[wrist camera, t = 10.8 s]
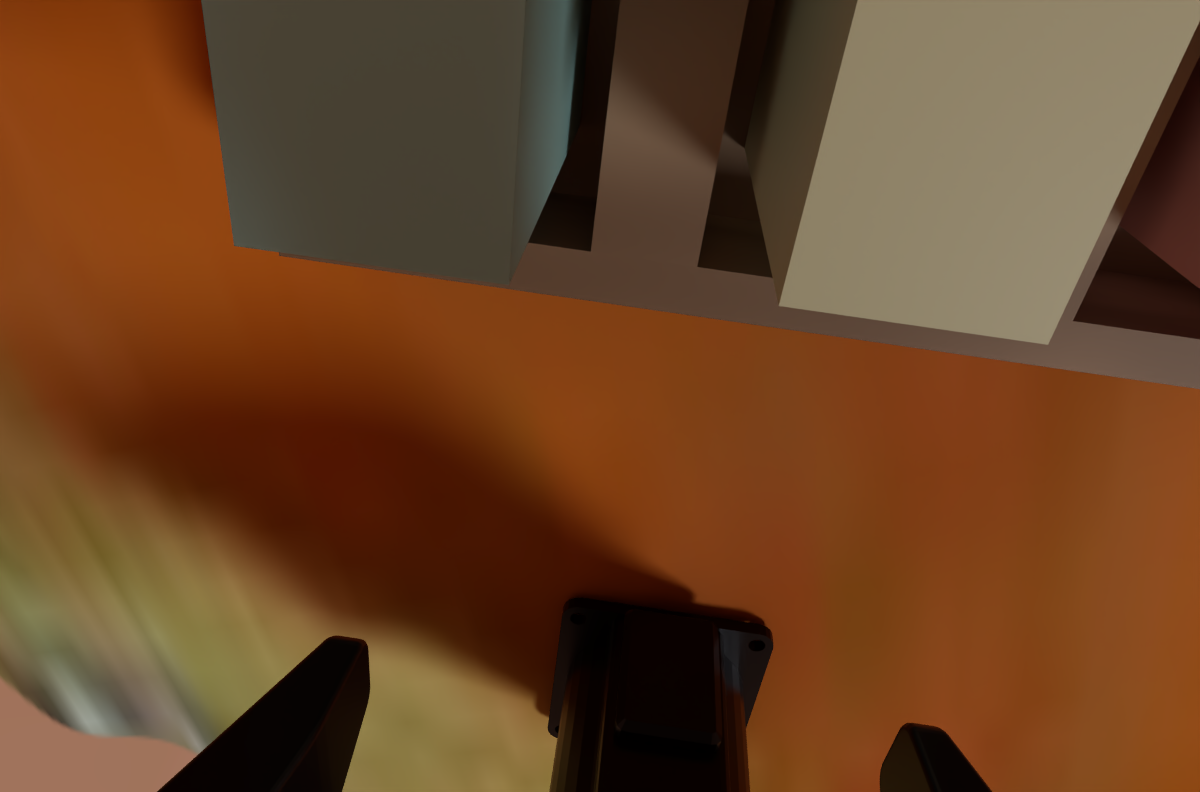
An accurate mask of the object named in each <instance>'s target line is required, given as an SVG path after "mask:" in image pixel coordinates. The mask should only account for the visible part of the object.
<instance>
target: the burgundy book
mask: <svg viewBox="0 0 1200 792" xmlns="http://www.w3.org/2000/svg"><path fill="white" fill-rule="evenodd" d="M1119 226H1121V227H1122V228H1123V229H1124V230H1126V231H1127V232H1128V233H1129V234H1131V235H1132V236H1133V237H1135V238H1136V239H1137V240H1138V241H1140V242H1141V243H1142V244H1143V245H1145V246H1146V247H1147V248H1148V249H1150V250H1151V251H1152V252H1154V253H1155V254H1156V255H1157V256H1159V257H1160V258H1161V259H1162V260H1164V261H1165V262H1166V263H1167V264H1169V265H1170V266H1171V267H1172V268H1174V269H1175V270H1176V271H1178V272H1179V273H1180V274H1181V275H1183V276H1184V277H1185V278H1186V279H1188V280H1189V281H1190V282H1191V283H1193V284H1194V285H1195V286H1197V287H1198V288H1199V289H1200V56H1199V58H1198V60H1197V63H1196V65H1195V67H1194V69H1193V71H1192V73H1191V75H1190V77H1189V79H1188V81H1187V83H1186V86H1185V88H1184V90H1183V92H1182V94H1181V96H1180V98H1179V100H1178V102H1177V104H1176V106H1175V109H1174V111H1173V113H1172V115H1171V117H1170V119H1169V121H1168V123H1167V125H1166V127H1165V129H1164V131H1163V134H1162V136H1161V138H1160V140H1159V142H1158V144H1157V146H1156V148H1155V150H1154V152H1153V154H1152V157H1151V159H1150V161H1149V163H1148V165H1147V167H1146V169H1145V171H1144V173H1143V175H1142V177H1141V180H1140V182H1139V184H1138V186H1137V188H1136V190H1135V192H1134V194H1133V196H1132V198H1131V200H1130V203H1129V205H1128V207H1127V209H1126V211H1125V213H1124V215H1123V217H1122V219H1121V221H1120V223H1119Z"/></svg>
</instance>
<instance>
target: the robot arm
mask: <svg viewBox="0 0 1200 792" xmlns="http://www.w3.org/2000/svg"><path fill="white" fill-rule="evenodd" d="M575 613H581V614H584V615H578V614H575ZM753 640H760V641H753ZM772 650H773V637H772V632H771V631H770V629H769V628H767V627H766V626H763V625H760V624H753V623H747V622H740V621H733V620H727V619H720V618H713V617H707V616H700V615H693V614H687V613H680V612H673V611H667V610H660V609H654V608H647V607H640V606H634V605H627V604H620V603H614V602H607V601H600V600H594V599H587V598H572V599H569V600H568V601H567V602H566V603H565V605H564V609H563V615H562V622H561V630H560V638H559V645H558V653H557V661H556V669H555V676H554V684H553V692H552V699H551V707H550V715H549V722H548V731H549V733H550V734H551V735H552V736H554V737H556V738H558V739H557V745H556V752H555V758H554V765H553V772H552V778H551V785H550V791H549V792H750V783H749V769H748V755H747V740H746V727H747V724H748V721H749V718H750V715H751V712H752V709H753V706H754V703H755V700H756V697H757V694H758V691H759V688H760V685H761V682H762V679H763V676H764V674H765V671H766V668H767V665H768V662H769V659H770V656H771V653H772ZM369 694H370V673H369V654H368V646H367V644H366V642H365V641H364V640H362V639H357V638H350V637H343V636H332V637H329V638H327V639H326V640H325V641H324V642H323V643H321V644H320V645H319V646H318V647H317V648H316V649H315V650H314V651H313V652H311V653H310V654H309V655H308V656H307V657H306V658H305V659H304V660H303V661H301V662H300V663H299V664H298V665H297V666H296V667H295V668H294V669H293V670H291V671H290V672H289V673H288V674H287V675H286V676H285V677H284V678H283V679H282V680H280V681H279V682H278V683H277V684H276V685H275V686H274V687H273V688H272V689H270V690H269V691H268V692H267V693H266V694H265V695H264V696H263V697H262V698H260V699H259V700H258V701H257V702H256V703H255V704H254V705H253V706H252V707H250V708H249V709H248V710H247V711H246V712H245V713H244V714H243V715H242V716H240V717H239V718H238V719H237V720H236V721H235V722H234V723H233V724H232V725H231V726H229V727H228V728H227V729H226V730H225V731H224V732H223V733H222V734H221V735H219V736H218V737H217V738H216V739H215V740H214V741H213V742H212V743H211V744H209V745H208V746H207V747H206V748H205V749H204V750H203V751H202V752H201V753H199V754H198V755H197V756H196V757H195V758H194V759H193V760H192V761H191V762H189V763H188V764H187V765H186V766H185V767H184V768H183V769H182V770H181V771H180V772H178V773H177V774H176V775H175V776H174V777H173V778H172V779H171V780H170V781H168V782H167V783H166V784H165V785H164V786H163V787H162V788H161V789H160V790H159V791H157V792H342V789H343V786H344V783H345V779H346V776H347V772H348V769H349V766H350V762H351V759H352V755H353V752H354V749H355V745H356V742H357V738H358V735H359V732H360V728H361V725H362V721H363V718H364V715H365V711H366V708H367V704H368V699H369ZM880 792H992V791H991V789H990V788H989V787H988V786H987V784H986V783H985V782H984V780H983V779H982V778H981V777H980V775H979V774H978V773H977V771H976V770H975V769H974V768H973V766H972V765H971V764H970V762H969V761H968V760H967V758H966V757H965V756H964V755H963V753H962V752H961V751H960V749H959V748H958V747H957V746H956V744H955V743H954V742H953V740H952V739H951V738H950V737H949V735H948V734H947V733H946V732H945V731H943V730H942V729H940V728H938V727H935V726H929V725H922V724H916V723H906V724H905V725H903V726H902V727H901V728H900V730H899V732H898V734H897V736H896V738H895V740H894V742H893V744H892V746H891V748H890V750H889V752H888V754H887V756H886V758H885V760H884V762H883V764H882V768H881V772H880Z"/></svg>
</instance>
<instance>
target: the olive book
mask: <svg viewBox="0 0 1200 792" xmlns="http://www.w3.org/2000/svg"><path fill="white" fill-rule="evenodd" d="M1199 21H1200V0H775V5H774V10H773V15H772V20H771V24H770V29H769V34H768V39H767V43H766V48H765V53H764V58H763V62H762V67H761V72H760V77H759V82H758V86H757V91H756V96H755V101H754V105H753V110H752V115H751V120H750V125H749V129H748V134H747V139H746V144H745V153H746V157H747V162H748V166H749V171H750V176H751V180H752V185H753V190H754V194H755V199H756V203H757V208H758V213H759V217H760V222H761V226H762V231H763V236H764V240H765V245H766V250H767V254H768V259H769V263H770V268H771V273H772V277H773V282H774V286H775V291H776V296H777V300H778V305H779V306H783V307H790V308H797V309H804V310H811V311H818V312H824V313H831V314H838V315H845V316H852V317H859V318H866V319H873V320H880V321H887V322H894V323H901V324H908V325H914V326H921V327H928V328H935V329H942V330H949V331H956V332H963V333H970V334H977V335H984V336H991V337H998V338H1004V339H1011V340H1018V341H1025V342H1032V343H1039V344H1046V345H1048V344H1049V342H1050V339H1051V337H1052V335H1053V333H1054V331H1055V329H1056V327H1057V325H1058V322H1059V320H1060V318H1061V316H1062V314H1063V312H1064V310H1065V307H1066V305H1067V303H1068V301H1069V299H1070V297H1071V295H1072V292H1073V290H1074V288H1075V286H1076V284H1077V282H1078V280H1079V278H1080V275H1081V273H1082V271H1083V269H1084V267H1085V265H1086V263H1087V260H1088V258H1089V256H1090V254H1091V252H1092V250H1093V248H1094V246H1095V243H1096V241H1097V239H1098V237H1099V235H1100V233H1101V231H1102V228H1103V226H1104V224H1105V222H1106V220H1107V218H1108V216H1109V214H1110V211H1111V209H1112V207H1113V205H1114V203H1115V201H1116V199H1117V196H1118V194H1119V192H1120V190H1121V188H1122V186H1123V184H1124V181H1125V179H1126V177H1127V175H1128V173H1129V171H1130V169H1131V167H1132V164H1133V162H1134V160H1135V158H1136V156H1137V154H1138V152H1139V149H1140V147H1141V145H1142V143H1143V141H1144V139H1145V137H1146V135H1147V132H1148V130H1149V128H1150V126H1151V124H1152V122H1153V120H1154V117H1155V115H1156V113H1157V111H1158V109H1159V107H1160V105H1161V103H1162V100H1163V98H1164V96H1165V94H1166V92H1167V90H1168V88H1169V85H1170V83H1171V81H1172V79H1173V77H1174V75H1175V73H1176V71H1177V68H1178V66H1179V64H1180V62H1181V60H1182V58H1183V56H1184V53H1185V51H1186V49H1187V47H1188V45H1189V43H1190V41H1191V38H1192V36H1193V34H1194V32H1195V30H1196V28H1197V26H1198V24H1199Z"/></svg>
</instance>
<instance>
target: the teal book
mask: <svg viewBox="0 0 1200 792" xmlns="http://www.w3.org/2000/svg"><path fill="white" fill-rule="evenodd" d="M201 3H202V10H203V18H204V25H205V32H206V40H207V47H208V55H209V62H210V69H211V77H212V84H213V92H214V99H215V106H216V114H217V121H218V129H219V136H220V144H221V151H222V158H223V166H224V173H225V181H226V188H227V195H228V203H229V210H230V218H231V225H232V233H233V240H234V246H240V247H247V248H254V249H261V250H268V251H275V252H282V253H288V254H295V255H302V256H309V257H316V258H323V259H330V260H337V261H344V262H351V263H358V264H365V265H372V266H379V267H386V268H393V269H400V270H407V271H414V272H421V273H428V274H435V275H442V276H449V277H456V278H463V279H470V280H477V281H484V282H491V283H498V284H505V285H509V284H510V281H511V279H512V277H513V275H514V272H515V270H516V268H517V266H518V263H519V261H520V259H521V257H522V254H523V252H524V250H525V248H526V245H527V243H528V241H529V239H530V236H531V234H532V232H533V230H534V227H535V225H536V223H537V221H538V219H539V216H540V214H541V212H542V210H543V207H544V205H545V203H546V201H547V198H548V196H549V194H550V192H551V189H552V187H553V185H554V183H555V180H556V178H557V176H558V174H559V171H560V169H561V167H562V165H563V162H564V160H565V158H566V156H567V153H568V151H569V149H570V147H571V144H572V142H573V140H574V138H575V135H576V133H577V131H578V129H579V126H580V118H581V108H582V98H583V88H584V77H585V67H586V57H587V47H588V37H589V27H590V17H591V6H592V0H201Z"/></svg>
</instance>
